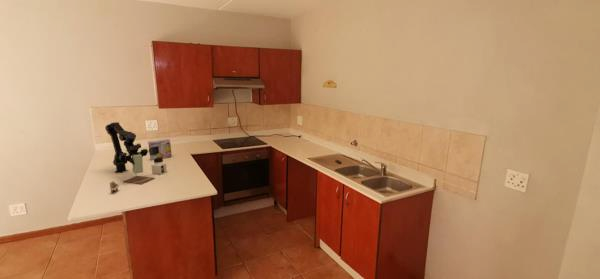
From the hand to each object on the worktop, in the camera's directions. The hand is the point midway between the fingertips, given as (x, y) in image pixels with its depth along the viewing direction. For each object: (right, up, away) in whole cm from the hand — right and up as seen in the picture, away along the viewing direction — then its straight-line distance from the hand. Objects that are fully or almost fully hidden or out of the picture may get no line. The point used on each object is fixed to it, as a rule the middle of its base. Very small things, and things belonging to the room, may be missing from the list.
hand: (138, 163), depth 215 cm
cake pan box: (-13, 0, +62) cm, 63 cm away
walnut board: (-1, -13, +4) cm, 13 cm away
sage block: (-1, -6, +2) cm, 7 cm away
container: (+6, -9, +21) cm, 24 cm away
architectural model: (-6, -18, -17) cm, 26 cm away
